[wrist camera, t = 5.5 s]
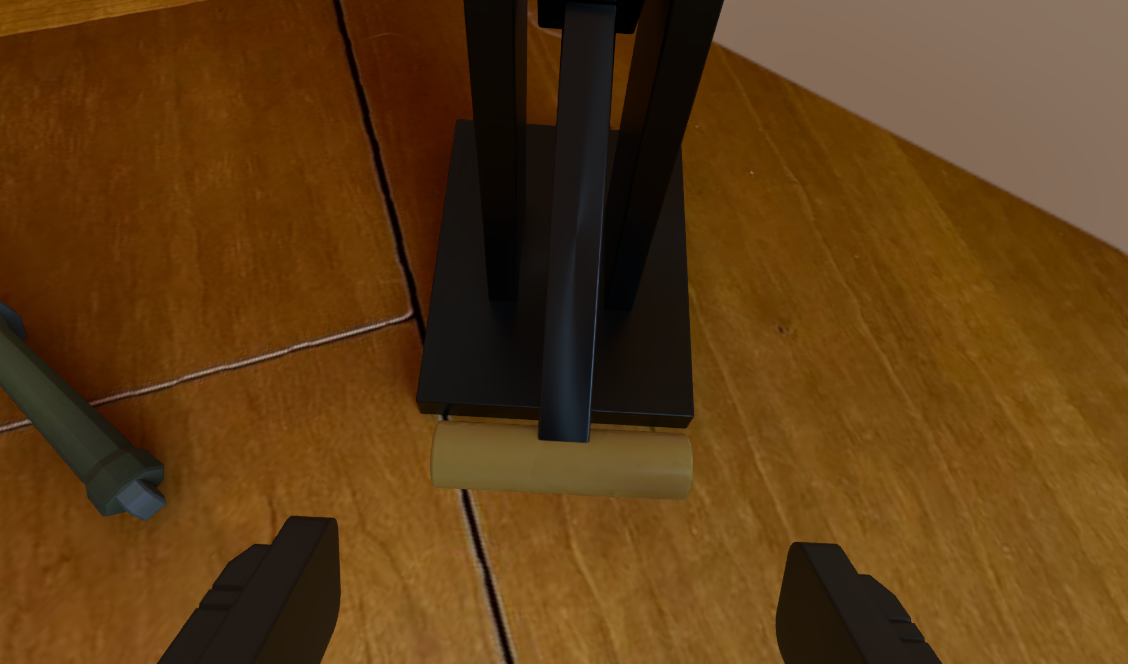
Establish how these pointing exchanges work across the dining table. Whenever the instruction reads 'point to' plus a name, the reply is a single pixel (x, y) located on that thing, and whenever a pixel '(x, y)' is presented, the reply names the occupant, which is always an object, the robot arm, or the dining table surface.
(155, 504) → the knife
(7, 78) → the dining table surface
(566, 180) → the lever
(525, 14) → the latch bracket
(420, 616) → the dining table surface
